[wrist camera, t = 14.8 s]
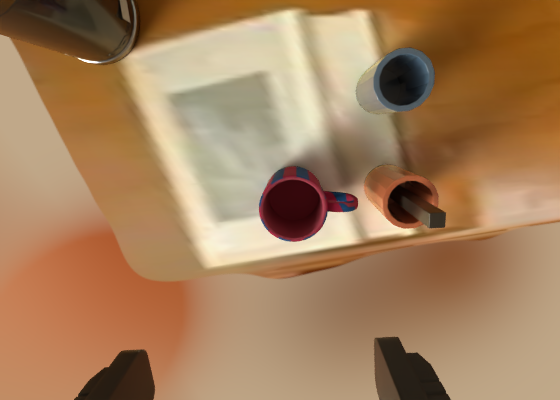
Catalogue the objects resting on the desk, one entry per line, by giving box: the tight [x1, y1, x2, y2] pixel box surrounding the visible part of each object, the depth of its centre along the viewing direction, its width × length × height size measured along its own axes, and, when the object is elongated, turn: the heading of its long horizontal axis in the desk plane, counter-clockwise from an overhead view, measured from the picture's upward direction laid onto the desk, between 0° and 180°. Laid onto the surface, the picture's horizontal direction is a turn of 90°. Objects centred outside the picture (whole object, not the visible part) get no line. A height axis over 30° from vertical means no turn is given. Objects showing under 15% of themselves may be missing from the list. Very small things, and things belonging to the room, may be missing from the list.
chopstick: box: [389, 185, 446, 228], centre depth 29 cm, size 1×1×13 cm
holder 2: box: [364, 164, 438, 229], centre depth 32 cm, size 5×5×8 cm
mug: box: [259, 166, 358, 242], centre depth 34 cm, size 7×10×7 cm
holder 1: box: [356, 48, 435, 114], centre depth 30 cm, size 5×5×8 cm
